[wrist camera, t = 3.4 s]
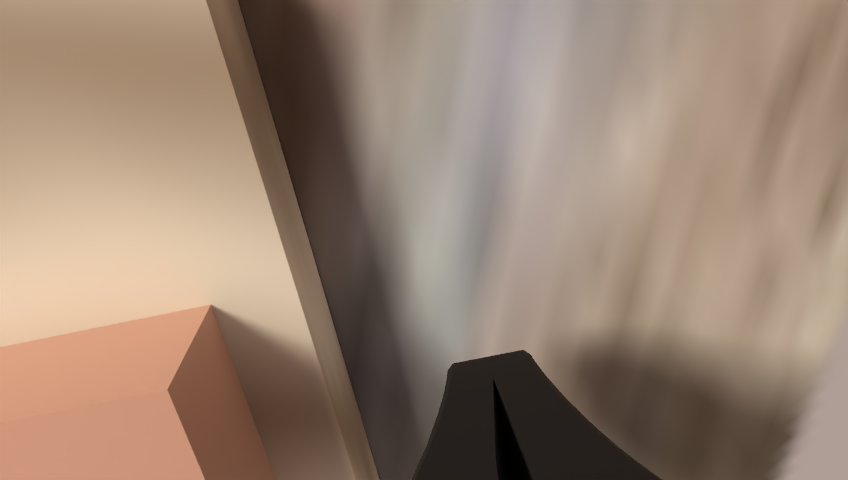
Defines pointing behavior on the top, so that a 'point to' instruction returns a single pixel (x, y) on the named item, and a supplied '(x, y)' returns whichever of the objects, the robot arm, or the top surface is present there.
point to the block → (128, 405)
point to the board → (166, 207)
